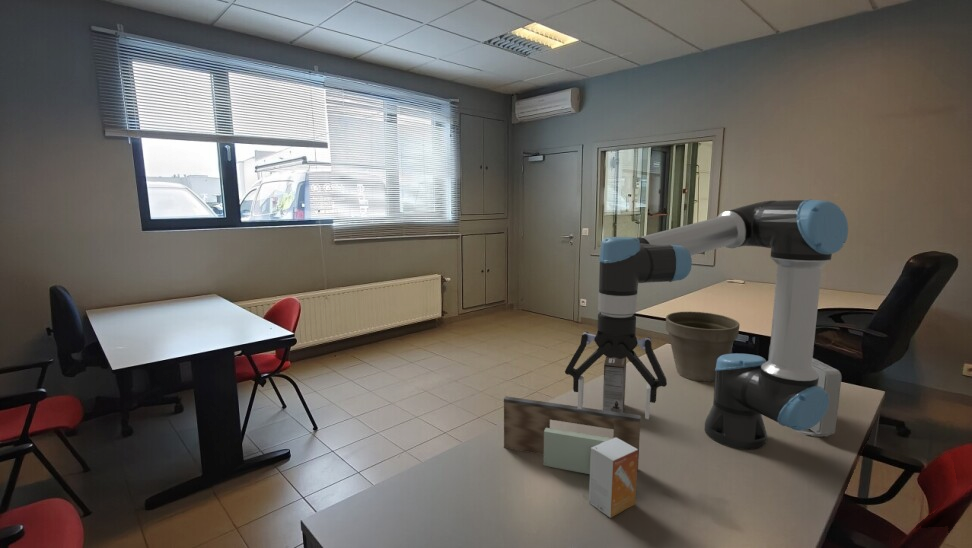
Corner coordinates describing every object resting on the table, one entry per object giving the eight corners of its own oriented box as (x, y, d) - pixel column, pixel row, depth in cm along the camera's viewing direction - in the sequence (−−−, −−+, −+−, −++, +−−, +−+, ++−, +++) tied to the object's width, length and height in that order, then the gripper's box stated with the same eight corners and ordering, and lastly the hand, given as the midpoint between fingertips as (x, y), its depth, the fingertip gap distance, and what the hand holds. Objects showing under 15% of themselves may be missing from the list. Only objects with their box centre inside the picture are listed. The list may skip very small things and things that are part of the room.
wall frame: (638, 468, 110) (640, 415, 108) (637, 472, 108) (640, 418, 106) (505, 444, 121) (505, 396, 119) (503, 447, 119) (503, 399, 117)
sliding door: (611, 473, 107) (612, 438, 105) (610, 481, 104) (611, 445, 102) (545, 461, 112) (545, 427, 111) (542, 468, 109) (542, 433, 108)
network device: (757, 401, 146) (762, 342, 143) (784, 401, 146) (790, 342, 143) (811, 442, 121) (818, 372, 118) (844, 443, 121) (852, 372, 117)
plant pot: (731, 393, 152) (736, 332, 149) (656, 378, 166) (659, 322, 162) (737, 370, 173) (742, 316, 170) (670, 359, 186) (673, 308, 183)
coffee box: (604, 401, 147) (605, 354, 144) (624, 404, 145) (626, 356, 142) (602, 414, 138) (603, 364, 136) (623, 417, 136) (625, 366, 134)
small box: (610, 519, 92) (613, 461, 90) (588, 502, 97) (589, 447, 95) (636, 504, 96) (639, 448, 94) (613, 489, 102) (615, 436, 100)
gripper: (682, 313, 90) (676, 412, 93) (559, 304, 99) (557, 395, 102) (684, 322, 83) (677, 429, 87) (552, 312, 92) (550, 409, 95)
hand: (612, 411), depth 94 cm, fingers open, 13 cm apart
